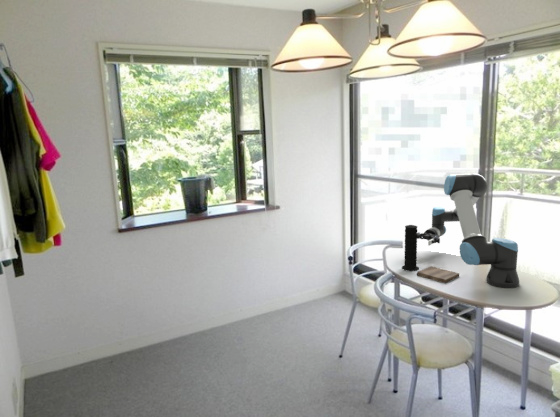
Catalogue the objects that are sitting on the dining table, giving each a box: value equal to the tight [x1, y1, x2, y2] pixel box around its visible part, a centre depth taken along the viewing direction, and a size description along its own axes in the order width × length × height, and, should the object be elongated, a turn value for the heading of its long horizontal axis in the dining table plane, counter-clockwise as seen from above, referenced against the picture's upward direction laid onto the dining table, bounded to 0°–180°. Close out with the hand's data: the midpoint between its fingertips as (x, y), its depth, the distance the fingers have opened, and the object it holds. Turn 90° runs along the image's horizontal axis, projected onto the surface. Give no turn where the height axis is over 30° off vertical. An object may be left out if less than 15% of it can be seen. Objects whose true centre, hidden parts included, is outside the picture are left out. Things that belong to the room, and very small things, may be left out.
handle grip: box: [401, 224, 420, 272], centre depth 234 cm, size 10×26×10 cm
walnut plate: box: [416, 265, 460, 284], centre depth 222 cm, size 17×14×2 cm
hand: (417, 241), depth 241 cm, fingers open, 13 cm apart
